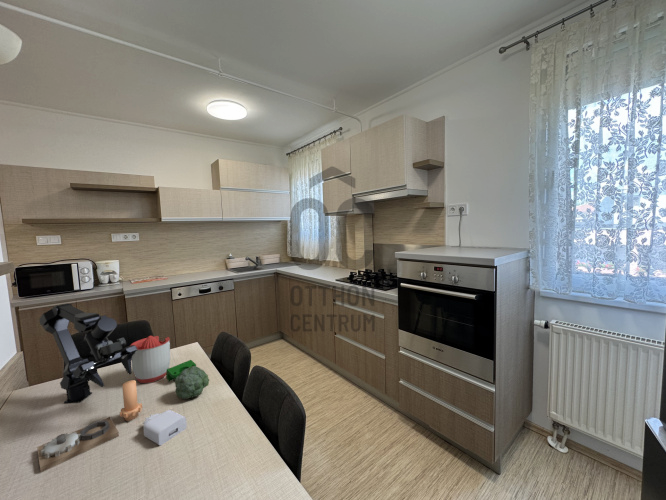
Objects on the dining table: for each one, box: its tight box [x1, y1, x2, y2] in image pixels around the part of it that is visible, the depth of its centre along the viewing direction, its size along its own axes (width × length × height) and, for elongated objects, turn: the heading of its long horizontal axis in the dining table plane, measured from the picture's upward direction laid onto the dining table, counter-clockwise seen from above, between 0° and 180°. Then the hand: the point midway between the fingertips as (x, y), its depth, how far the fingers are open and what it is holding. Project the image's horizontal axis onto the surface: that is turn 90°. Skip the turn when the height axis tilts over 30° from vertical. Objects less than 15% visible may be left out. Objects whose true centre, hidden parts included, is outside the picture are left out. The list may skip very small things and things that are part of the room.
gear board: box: [36, 416, 120, 473], centre depth 89 cm, size 18×12×5 cm, turn 140°
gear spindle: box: [119, 379, 143, 422], centre depth 102 cm, size 7×7×13 cm
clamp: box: [165, 359, 197, 382], centre depth 129 cm, size 12×6×9 cm, turn 139°
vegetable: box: [174, 365, 210, 400], centre depth 116 cm, size 12×13×15 cm
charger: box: [142, 409, 188, 446], centre depth 95 cm, size 5×9×15 cm
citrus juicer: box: [129, 335, 171, 384], centre depth 131 cm, size 16×17×20 cm
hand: (117, 380), depth 103 cm, fingers open, 9 cm apart
